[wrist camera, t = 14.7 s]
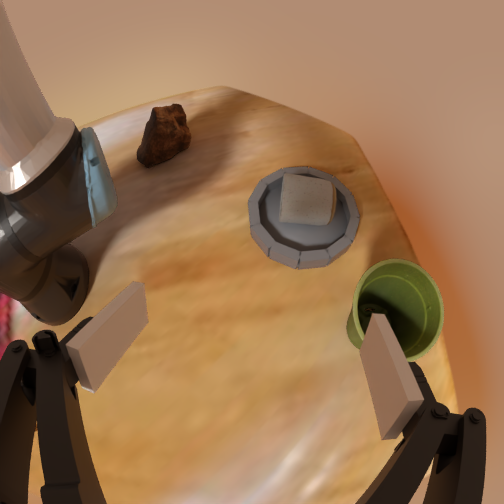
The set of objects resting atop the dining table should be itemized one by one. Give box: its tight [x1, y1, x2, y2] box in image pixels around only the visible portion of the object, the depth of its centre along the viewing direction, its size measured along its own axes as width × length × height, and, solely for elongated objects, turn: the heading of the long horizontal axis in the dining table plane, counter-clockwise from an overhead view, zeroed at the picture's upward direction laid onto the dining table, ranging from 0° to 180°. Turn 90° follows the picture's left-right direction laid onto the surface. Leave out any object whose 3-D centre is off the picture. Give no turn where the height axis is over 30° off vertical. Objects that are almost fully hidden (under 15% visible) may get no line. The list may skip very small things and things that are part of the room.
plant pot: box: [347, 259, 444, 362], centre depth 32 cm, size 12×12×11 cm
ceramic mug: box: [279, 173, 336, 226], centre depth 41 cm, size 10×8×7 cm
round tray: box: [248, 167, 360, 270], centre depth 43 cm, size 17×17×3 cm
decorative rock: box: [137, 104, 191, 168], centre depth 47 cm, size 12×6×11 cm, turn 123°
